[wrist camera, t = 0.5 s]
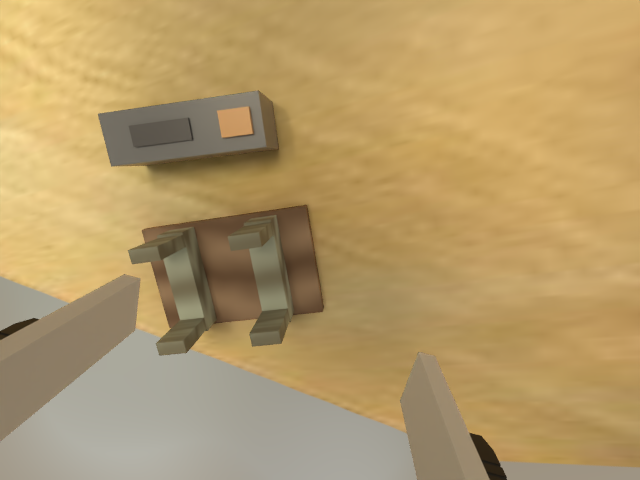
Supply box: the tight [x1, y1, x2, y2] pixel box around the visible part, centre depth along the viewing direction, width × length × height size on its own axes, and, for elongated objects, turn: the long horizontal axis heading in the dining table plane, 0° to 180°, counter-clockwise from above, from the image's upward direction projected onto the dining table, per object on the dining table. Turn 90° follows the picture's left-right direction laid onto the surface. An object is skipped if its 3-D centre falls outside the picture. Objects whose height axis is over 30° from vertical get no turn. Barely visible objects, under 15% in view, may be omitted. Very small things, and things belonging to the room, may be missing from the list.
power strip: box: [98, 91, 279, 166], centre depth 34 cm, size 5×16×6 cm, turn 97°
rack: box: [128, 205, 324, 355], centre depth 36 cm, size 13×20×9 cm, turn 99°
